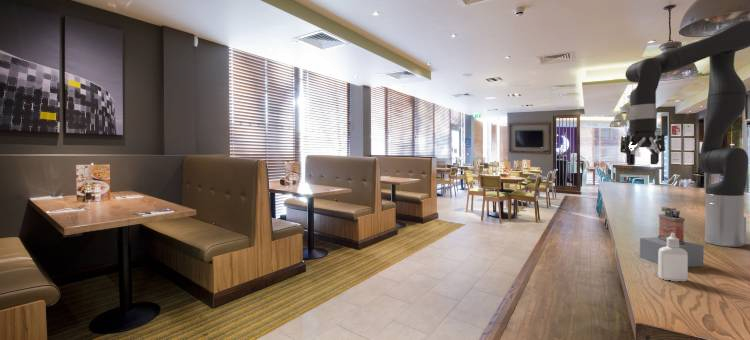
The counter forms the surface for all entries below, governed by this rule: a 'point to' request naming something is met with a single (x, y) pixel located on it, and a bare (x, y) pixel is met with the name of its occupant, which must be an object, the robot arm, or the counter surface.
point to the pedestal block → (652, 245)
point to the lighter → (671, 224)
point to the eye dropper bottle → (673, 261)
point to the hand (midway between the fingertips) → (642, 164)
